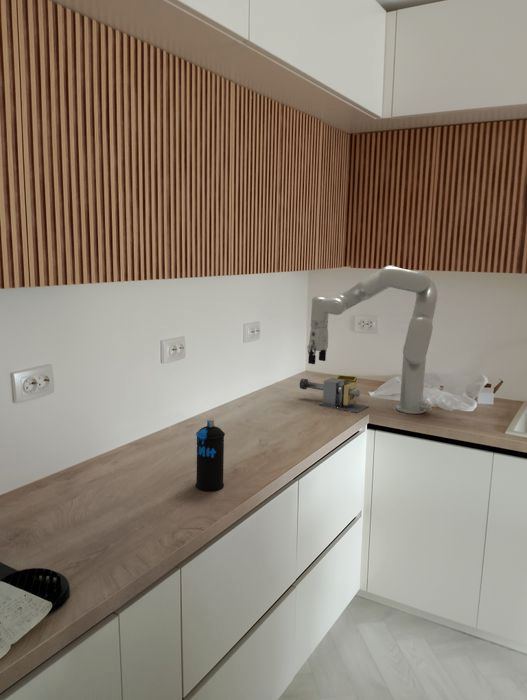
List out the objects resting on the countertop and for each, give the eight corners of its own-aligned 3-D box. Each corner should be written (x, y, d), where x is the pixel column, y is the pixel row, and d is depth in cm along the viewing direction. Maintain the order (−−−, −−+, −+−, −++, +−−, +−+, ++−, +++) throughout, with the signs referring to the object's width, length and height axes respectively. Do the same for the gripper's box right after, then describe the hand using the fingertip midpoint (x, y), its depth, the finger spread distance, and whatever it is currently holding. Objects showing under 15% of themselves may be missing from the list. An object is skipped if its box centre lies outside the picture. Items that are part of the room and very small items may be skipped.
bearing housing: (346, 403, 265) (347, 379, 263) (335, 408, 256) (336, 383, 254) (330, 400, 269) (331, 376, 267) (319, 405, 260) (320, 381, 258)
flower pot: (334, 397, 275) (335, 378, 273) (337, 393, 283) (338, 374, 281) (353, 399, 272) (354, 380, 270) (356, 395, 280) (357, 376, 279)
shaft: (360, 397, 257) (361, 387, 256) (356, 399, 253) (356, 389, 252) (304, 387, 272) (305, 377, 271) (299, 389, 268) (299, 379, 267)
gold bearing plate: (355, 401, 261) (356, 383, 259) (347, 405, 254) (348, 386, 252) (351, 400, 262) (352, 382, 260) (343, 404, 255) (344, 385, 253)
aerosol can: (209, 478, 177) (210, 413, 173) (229, 485, 171) (231, 419, 168) (189, 486, 170) (189, 419, 167) (210, 494, 165) (210, 425, 162)
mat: (368, 407, 259) (368, 406, 259) (357, 413, 250) (357, 412, 249) (347, 403, 265) (347, 402, 265) (336, 409, 255) (336, 408, 255)
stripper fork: (349, 404, 263) (350, 381, 261) (341, 408, 255) (342, 385, 254) (348, 404, 263) (349, 381, 261) (339, 408, 256) (340, 385, 254)
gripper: (317, 327, 251) (315, 366, 255) (335, 323, 266) (333, 360, 269) (302, 325, 255) (300, 363, 259) (320, 321, 270) (318, 358, 273)
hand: (316, 362), depth 264 cm, fingers open, 9 cm apart
